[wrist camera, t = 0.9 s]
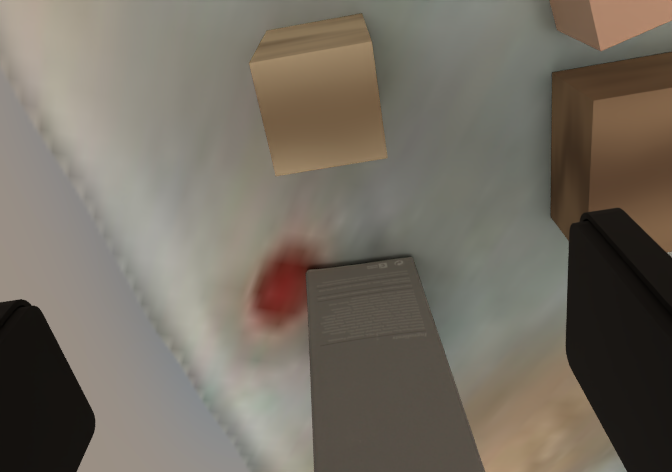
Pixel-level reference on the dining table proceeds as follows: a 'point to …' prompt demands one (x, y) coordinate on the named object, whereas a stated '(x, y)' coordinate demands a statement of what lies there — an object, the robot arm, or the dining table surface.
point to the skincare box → (381, 375)
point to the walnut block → (614, 143)
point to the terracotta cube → (609, 19)
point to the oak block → (319, 95)
